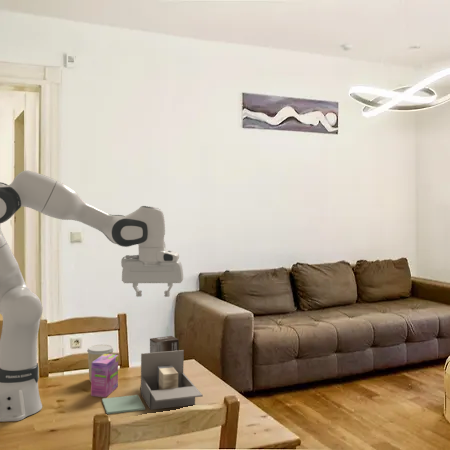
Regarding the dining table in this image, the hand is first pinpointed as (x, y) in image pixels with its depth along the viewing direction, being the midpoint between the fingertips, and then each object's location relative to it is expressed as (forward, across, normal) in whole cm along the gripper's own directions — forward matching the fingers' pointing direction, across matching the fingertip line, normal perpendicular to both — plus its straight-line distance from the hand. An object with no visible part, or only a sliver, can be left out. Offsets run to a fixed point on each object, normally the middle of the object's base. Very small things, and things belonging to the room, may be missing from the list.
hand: (153, 296), depth 181 cm
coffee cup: (+35, -24, +17) cm, 45 cm away
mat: (+35, -9, -6) cm, 36 cm away
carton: (+35, +6, -3) cm, 36 cm away
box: (+35, -19, +5) cm, 40 cm away
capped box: (+35, +4, 0) cm, 35 cm away
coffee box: (+36, 0, +17) cm, 39 cm away
